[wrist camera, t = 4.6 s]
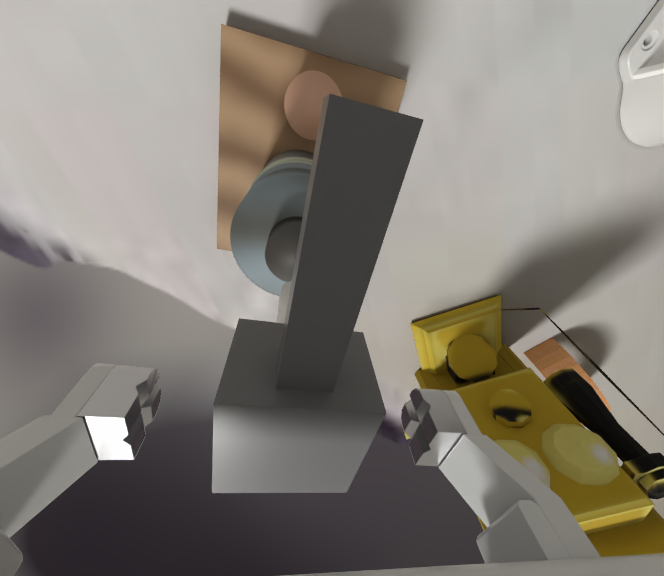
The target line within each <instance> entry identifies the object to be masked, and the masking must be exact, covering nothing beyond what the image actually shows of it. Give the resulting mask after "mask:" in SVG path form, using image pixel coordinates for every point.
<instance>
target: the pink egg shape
mask: <svg viewBox="0 0 664 576" xmlns="http://www.w3.org/2000/svg"><path fill="white" fill-rule="evenodd" d="M328 94H333V95H337V96H340V97H342V96H341V92H340V90H339V88H338V86H337V84H336V83H335V82H334V81H333V80H332V79H331V78H330V77H329V76H328V75H326V74H325V73H322V72H320V71H313V70H311V71H306V72H303V73H301V74H299V75H297V76H296V77H295V78H294V79H293V80H292V81H291V83H290V84H289V86H288V88H287V91H286V94H285V99H284V109H285V114H286V118H287V120H288V122H289V124H290V126H291V127H292V129H293V130H294V131H295V132H296V133H297V134H298V135H300V136H301V137H303V138H305V139H308V140H316V138H317V132H318V127H319V121H320V115H321V109H322V103H323V98H324V97H326V96H327V95H328Z"/></svg>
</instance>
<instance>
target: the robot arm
mask: <svg viewBox="0 0 664 576" xmlns="http://www.w3.org/2000/svg"><path fill="white" fill-rule="evenodd" d="M644 40H645V41H644ZM643 42H644V44H643ZM619 70H620V74H621V78H622V81H623V93H622V100H621V108H620V118H621V124H622V128H623V130H624V132H625V134H626V136H627V137H628V138H629V139H630V140H631V141H632V142H634V143H635V144H638V145H641V146H646V147H654V146H660V145H664V0H659V1H658V3H657V4H656V5H655V7H654V8H653V10H652V11H651V12H650V14H649V15H648V16H647V18H646V19H645V20H644V22H643V23H642V25H641V26H640V27H639V29H638V30H637V31H636V33H635V34H634V36H633V37H632V38H631V40H630V41H629V42H628V44H627V45H626V46H625V48H624V49H623V51H622V53H621V55H620V58H619ZM158 379H159V373H158V370H157V369H153V368H142V367H133V366H123V365H110V364H100V363H97V364H95V365H94V366H92V367H91V368H90V369H89V370H88V371H87V372H86V374H85V375H84V376H83V377H82V379H81V380H80V381H79V382H78V383H77V384H76V386H75V387H74V388H73V389H72V390H71V391H70V393H69V394H68V395H67V396H66V397H65V399H64V400H63V401H62V402H61V403H60V405H59V406H58V407H57V408H56V409H55V410H54V412H53V413H52V414H51V415H50V416H42V417H40V418H38V419H36V420H34V421H33V422H31V423H29V424H27V425H25V426H24V427H22V428H20V429H18V430H16V431H14V432H13V433H11V434H9V435H7V436H6V437H4V438H2V439H0V576H13V575H14V574H15V572H16V570H17V569H18V567H19V566H20V564H21V562H22V561H23V557H22V553H21V551H20V550H19V549H18V548H17V547H16V546H15V544H14V543H13V542H12V541H11V540H10V539H9V538H10V537H11V536H12V535H13V534H14V533H16V532H17V531H18V530H19V529H20V528H21V527H23V526H24V525H25V524H26V523H27V522H28V521H30V520H31V519H32V518H33V517H34V516H35V515H37V514H38V513H39V512H40V511H41V510H42V509H43V508H45V507H46V506H47V505H48V504H49V503H50V502H52V501H53V500H54V499H55V498H56V497H57V496H59V495H60V494H61V493H62V492H63V491H64V490H65V489H67V488H68V487H69V486H70V485H71V484H73V483H74V482H75V481H76V480H77V479H78V478H79V477H81V476H82V475H83V474H84V473H85V472H86V471H87V470H89V469H90V468H91V467H92V466H93V465H95V464H96V463H97V460H130V459H131V460H134V458H135V456H136V454H137V452H138V450H139V448H140V446H141V444H142V442H143V440H144V438H145V436H146V435H145V429H144V427H145V426H146V425H148V424H149V423H150V422H152V421H153V419H154V417H155V415H156V412H157V410H158V407H159V404H160V399H161V388H160V387H159V386H158V385H157V384H156V382H157V381H158ZM410 398H411V400H410V401H408V402H407V403H405V404H404V407H403V409H402V414H401V420H402V426H403V429H404V432H405V433H406V434H407V435H408V436H409V437H410V438H411V439H410V442H409V447H410V450H411V453H412V456H413V459H414V462H415V465H426V466H440V467H439V469H440V470H441V471H442V472H443V473H444V475H445V476H446V477H447V478H448V480H449V481H450V482H451V483H452V484H453V485H454V487H455V488H456V489H457V491H458V492H459V493H460V494H461V495H462V497H463V498H464V499H465V501H466V502H467V503H468V504H469V505H470V507H471V508H472V509H473V510H474V512H475V513H476V514H477V515H478V517H479V518H480V519H481V520H482V522H483V523H484V524H485V525H486V527H487V528H486V529H485V530H484V531H483V532H482V533H481V534H480V535H478V537H477V540H476V542H477V544H478V546H479V549H480V552H481V554H482V556H483V559H484V561H485V564H471V565H455V566H439V567H438V566H437V567H421V568H405V569H387V570H369V571H352V572H337V573H318V574H301V575H284V576H664V553H658V554H641V555H624V556H607V557H601V556H600V555H599V553H598V552H597V550H596V549H595V547H594V546H593V544H592V543H591V541H590V540H589V538H588V537H587V536H586V534H585V533H584V531H583V530H582V528H581V527H580V525H579V524H578V522H577V521H576V519H575V518H574V516H573V515H572V514H571V512H570V511H569V509H568V508H567V506H566V505H565V503H564V502H563V500H562V499H561V498H560V497H559V496H558V495H556V494H555V493H554V492H553V491H552V490H551V489H549V488H548V487H547V486H546V485H545V484H543V483H542V482H541V481H540V480H539V479H538V478H536V477H535V476H534V475H533V474H532V473H530V472H529V471H528V470H527V469H526V468H525V467H523V466H522V465H521V464H520V463H519V462H517V461H516V460H515V459H514V458H513V457H512V456H510V455H509V454H508V453H507V452H506V451H504V450H503V449H502V448H501V447H500V446H499V445H497V444H496V443H495V442H494V441H493V440H491V439H490V438H489V437H488V436H487V435H482V433H481V432H480V430H479V428H478V426H477V425H476V423H475V421H474V419H473V418H472V416H471V414H470V413H469V411H468V409H467V407H466V406H465V404H464V402H463V400H462V399H461V397H460V395H459V394H458V393H457V392H456V391H447V390H436V389H420V388H415V389H413V390H412V391H411V393H410Z"/></svg>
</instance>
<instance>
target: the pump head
mask: <svg viewBox="0 0 664 576" xmlns="http://www.w3.org/2000/svg"><path fill="white" fill-rule="evenodd" d="M422 123H423V120H422V119H419V118H415V117H412V116H408V115H405V114H401V113H397V112H394V111H390V110H387V109H383V108H380V107H376V106H372V105H369V104H365V103H362V102H358V101H355V100H351V99H348V98H344V97H340V96H337V95H333V94H328V95H327V96H326V97H324V98H323V103H322V109H321V115H320V121H319V127H318V132H317V138H316V144H315V150H314V155H313V161H312V167H311V173H310V178H309V184H308V190H307V196H306V201H305V207H304V213H303V219H302V224H301V230H300V236H299V242H298V247H297V253H296V259H295V265H294V271H293V276H292V281H289V282H287V283H285V284H284V285H283V286H282V288H281V290H280V297H279V305H278V314H277V323H274V322H265V321H256V320H248V319H239V321H238V324H237V328H236V331H235V334H234V338H233V341H232V345H231V348H230V351H229V355H228V358H227V361H226V364H225V368H224V371H223V374H222V378H221V381H220V384H219V388H218V391H217V394H216V398H215V401H214V417H213V418H214V420H213V471H212V493H317V492H318V493H321V492H323V493H331V492H333V493H336V492H337V493H341V492H342V493H343V492H345V493H346V492H347V490H348V488H349V486H350V484H351V482H352V480H353V478H354V476H355V474H356V472H357V470H358V468H359V466H360V464H361V462H362V460H363V458H364V456H365V454H366V452H367V450H368V448H369V446H370V444H371V442H372V440H373V438H374V436H375V434H376V432H377V430H378V428H379V426H380V425H381V423H382V421H383V419H384V417H385V415H386V410H385V407H384V403H383V400H382V397H381V393H380V390H379V386H378V383H377V379H376V376H375V372H374V369H373V365H372V362H371V359H370V355H369V352H368V348H367V345H366V341H365V338H364V334H363V332H354V331H353V330H354V327H355V324H356V321H357V318H358V315H359V312H360V309H361V306H362V303H363V300H364V297H365V294H366V291H367V288H368V285H369V282H370V279H371V276H372V273H373V270H374V267H375V264H376V261H377V258H378V255H379V252H380V249H381V246H382V243H383V240H384V237H385V234H386V231H387V228H388V225H389V222H390V219H391V216H392V213H393V210H394V207H395V204H396V201H397V198H398V195H399V192H400V189H401V186H402V183H403V180H404V177H405V174H406V171H407V168H408V165H409V162H410V159H411V156H412V153H413V150H414V147H415V144H416V141H417V138H418V135H419V132H420V129H421V126H422Z"/></svg>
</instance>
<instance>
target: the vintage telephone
mask: <svg viewBox="0 0 664 576" xmlns="http://www.w3.org/2000/svg"><path fill="white" fill-rule="evenodd" d="M534 309H540V308H526V309H504V310H534ZM540 310H541V309H540ZM541 311H542V310H541ZM542 312H543V311H542ZM543 313H544V312H543ZM544 314H545V313H544ZM545 315H546V314H545ZM546 316H547V315H546ZM547 317H548V316H547ZM548 318H549V317H548ZM549 319H550V318H549ZM550 320H551V319H550ZM551 321H552V320H551ZM552 323H553V324H554V325H555V326H556V327H557V328H558V329H559V330H560V331H561V332H562V333H563V334H564V335H565V336H566V337H567V338H568V339H569V340H570V341H571V342H572V344H573V345H574V346H575V347H576V348H577V349H578V350H579V351H580V352H581V353H582V354H583V355H584V356H585V357H586V358H587V359H588V360H589V361H590V362H591V363H592V364H593V365H594V366H595V367H596V368H597V369H598V370H599V371H600V372H601V373H602V374H603V375H604V376H605V377H606V378H607V379H608V380H609V381H610V382H611V383H612V384H613V385H614V386H615V387H616V388H617V389H618V390H619V391H620V392H621V393H622V394H623V395H624V396H625V397H626V398H627V399H628V400H629V401H630V402H631V403H632V404H633V405H634V406H635V407H636V408H637V409H638V410H639V411H640V412H641V413H642V414H643V415H644V416H645V417H646V418H647V419H648V420H649V421H650V422H651V423H652V424H653V422H652V421H651V420H650V419H649V418H648V417H647V416H646V415H645V414H644V413H643V412H642V411H641V410H640V409H639V408H638V407H637V406H636V405H635V404H634V403H633V402H632V401H631V400H630V399H629V398H628V397H627V396H626V395H625V394H624V393H623V392H622V391H621V389H620V388H619V387H618V386H617V385H616V384H615V383H614V382H613V381H612V380H611V379H610V378H609V377H608V376H607V375H606V374H605V373H604V372H603V371H602V370H601V369H600V368H599V367H598V366H597V365H596V364H595V363H594V362H593V361H592V360H591V359H590V358H589V357H588V356H587V355H586V354H585V353H584V352H583V351H582V350H581V349H580V348H579V347H578V346H577V345H576V344H575V343H574V342H573V341H572V340H571V339H570V338H569V337H568V336H567V335H566V334H565V333H564V332H563V331H562V330H561V329H560V328H559V327H558V326H557V325H556V324H555V323H554V322H553V321H552ZM411 327H412V331H413V335H414V339H415V343H416V347H417V351H418V355H419V360H420V364H421V368H422V369H420V370H417V372H416V373H415V376H416V378H417V381H418V383H419V385H420V387H421V389H436V390H447V391H456V392H457V393H458V394H459V395H460V397H461V399H462V400H463V402H464V404H465V406H466V407H467V409H468V411H469V413H470V414H471V416H472V418H473V419H474V421H475V423H476V425H477V426H478V428H479V430H480V432H481V433H482V435H487V436H488V437H489V438H490V439H491V440H493V441H494V442H495V443H496V444H497V445H499V446H500V447H501V448H502V449H503V450H504V451H506V452H507V453H508V454H509V455H510V456H512V457H513V458H514V459H515V460H516V461H517V462H519V463H520V464H521V465H522V466H523V467H525V468H526V469H527V470H528V471H529V472H530V473H532V474H533V475H534V476H535V477H536V478H538V479H539V480H540V481H541V482H542V483H543V484H545V485H546V486H547V487H548V488H549V489H551V490H552V491H553V492H554V493H555V494H556V495H558V496H559V497H560V498H561V499H562V500H563V502H564V503H565V505H566V506H567V508H568V509H569V511H570V512H571V514H572V515H573V516H574V518H575V519H576V521H577V522H578V524H579V525H580V527H581V528H582V530H583V531H584V533H585V534H586V536H587V537H588V538H589V540H590V541H591V543H592V544H593V546H594V547H595V549H596V550H597V552H598V553H599V555H600V556H601V557H607V556H624V555H641V554H658V553H664V519H663V518H662V517H661V516H660V515H659V514H658V513H657V511H656V510H655V509H654V508H653V506H654V505H655V504H654V503H653V502H652V501H651V500H650V499H649V498H652V499H660V498H663V497H664V456H663V455H662V454H661V453H651V454H649V453H648V452H647V451H646V450H645V449H644V448H643V447H642V446H641V445H640V444H639V443H638V442H637V441H636V440H635V439H634V438H632V437H631V436H630V435H629V434H628V433H627V432H626V431H625V430H624V429H623V428H622V427H621V426H620V425H619V424H618V422H617V421H616V420H615V418H614V417H613V415H612V414H611V413H610V411H609V410H608V408H607V407H606V406H605V404H604V403H603V401H602V400H601V398H600V397H599V396H598V394H597V393H596V391H595V390H594V389H593V387H592V386H591V385H590V384H589V383H588V382H587V381H586V380H585V379H583V378H582V377H581V376H580V375H579V374H578V373H577V372H576V371H575V370H574V369H573V368H570V369H561V370H559V371H557V372H555V373H553V374H551V375H550V376H549V377H548V378H547V379H546V380H545V381H544V382H543V381H542V380H541V379H540V378H539V377H538V376H537V375H536V374H535V373H534V372H533V370H532V369H531V368H530V367H529V368H527V367H526V366H525V365H524V364H523V363H522V361H521V360H520V359H519V358H518V357H517V356H516V355H515V354H514V353H513V351H512V350H511V349H510V348H509V347H508V346H507V345H504V344H503V345H502V314H501V295H498V296H495V297H492V298H489V299H486V300H482V301H479V302H476V303H473V304H470V305H467V306H464V307H460V308H457V309H454V310H451V311H448V312H445V313H442V314H439V315H435V316H432V317H429V318H426V319H423V320H420V321H417V322H413V323H411ZM582 424H583V425H584V426H585V427H587V428H588V429H589V430H591V431H592V432H591V431H589V430H587V429H585V428H584V426H583V425H582ZM653 425H654V424H653ZM654 426H655V425H654ZM655 427H656V426H655ZM656 428H657V427H656ZM657 429H658V428H657ZM403 430H404V429H403ZM658 430H659V429H658ZM659 431H660V430H659ZM660 432H661V431H660ZM404 433H405V432H404ZM661 433H662V432H661ZM662 434H663V433H662ZM663 435H664V434H663ZM405 436H406V439H409V438H410V437H409V436H408V435H407V434H406V433H405ZM617 456H618V457H619V458H620V459H621V460H622V462H623V464H622V466H621V467H620V466H619V465H618V460H617ZM477 516H478V515H477ZM478 518H479V517H478ZM479 521H480V523H481V525H482V527H483V530H485V529H486V528H487V527H486V525H485V524H484V523H483V522H482V520H481V519H480V518H479Z"/></svg>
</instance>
